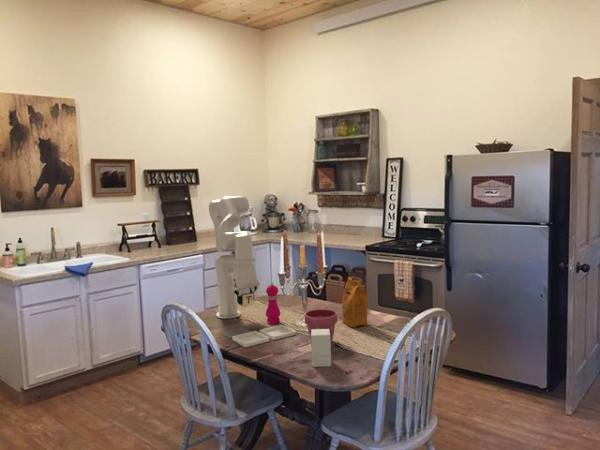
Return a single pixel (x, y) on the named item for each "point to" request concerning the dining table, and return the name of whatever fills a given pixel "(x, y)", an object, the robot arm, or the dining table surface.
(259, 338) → the tray
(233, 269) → the robot arm
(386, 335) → the dining table surface
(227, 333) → the pad
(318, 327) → the plant pot
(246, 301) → the letter cube
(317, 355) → the supplement box
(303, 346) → the dining table surface
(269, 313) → the pepper mill
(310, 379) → the dining table surface
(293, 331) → the tray
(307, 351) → the dining table surface
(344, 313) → the coffee package
